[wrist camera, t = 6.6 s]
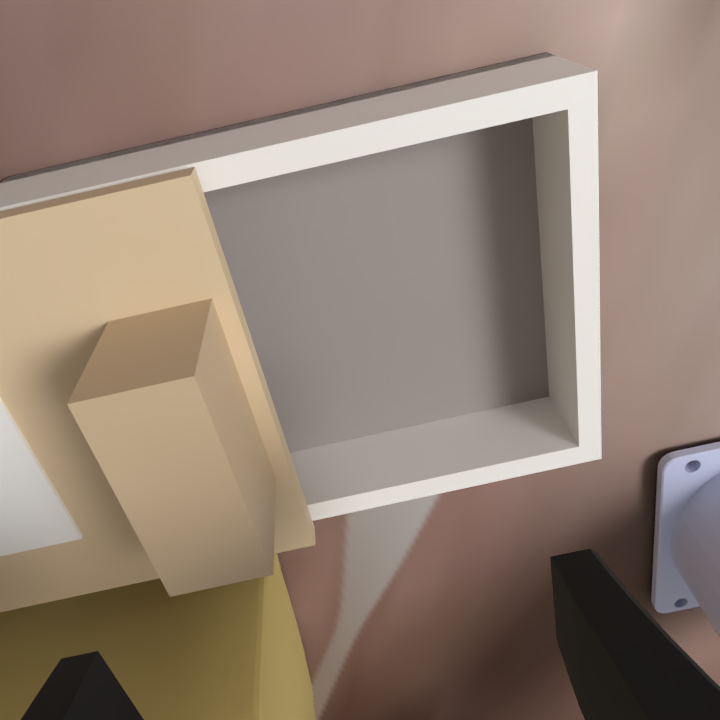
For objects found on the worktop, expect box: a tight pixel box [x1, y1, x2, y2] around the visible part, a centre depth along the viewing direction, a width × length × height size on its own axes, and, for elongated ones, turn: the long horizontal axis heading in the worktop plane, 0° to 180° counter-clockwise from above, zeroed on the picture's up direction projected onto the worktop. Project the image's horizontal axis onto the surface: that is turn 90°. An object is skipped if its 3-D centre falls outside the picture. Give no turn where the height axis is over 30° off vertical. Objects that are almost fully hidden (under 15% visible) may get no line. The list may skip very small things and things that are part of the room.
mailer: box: [0, 52, 601, 521], centre depth 17 cm, size 13×10×3 cm
